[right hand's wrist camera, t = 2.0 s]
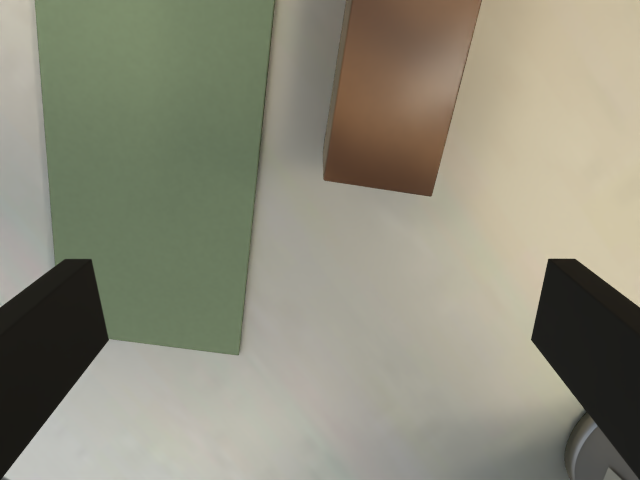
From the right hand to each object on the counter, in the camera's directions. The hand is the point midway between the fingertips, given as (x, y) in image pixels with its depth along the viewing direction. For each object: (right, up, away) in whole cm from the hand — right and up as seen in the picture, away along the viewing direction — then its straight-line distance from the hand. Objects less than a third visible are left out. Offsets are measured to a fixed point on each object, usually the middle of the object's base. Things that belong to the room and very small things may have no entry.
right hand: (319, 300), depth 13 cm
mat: (-11, +10, +16) cm, 21 cm away
